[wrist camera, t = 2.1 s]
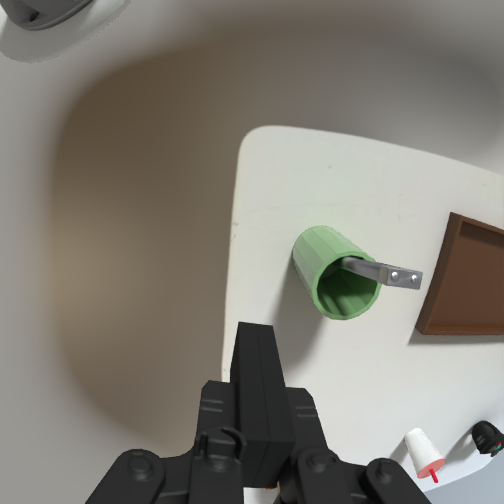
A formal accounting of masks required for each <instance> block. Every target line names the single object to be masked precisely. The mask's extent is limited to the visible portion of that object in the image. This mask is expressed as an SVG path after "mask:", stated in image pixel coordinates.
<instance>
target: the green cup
mask: <svg viewBox="0 0 504 504" xmlns="http://www.w3.org/2000/svg"><path fill="white" fill-rule="evenodd" d="M345 256H352V257H356V258H361V259H365V260H370V261H374V262H376V261H375V260H374V259H373V258H372V257H371V256H369V255H368V254H367V253H365V252H364V251H363V250H362V249H360V248H359V247H358V246H356V245H355V244H354V243H352V242H351V241H350V240H348V239H347V238H346V237H344V236H343V235H342V234H340V233H339V232H337V231H336V230H334V229H333V228H330V227H327V226H316V227H312V228H310V229H308V230H306V231H305V232H303V233H302V234H301V235H300V236H299V238H298V239H297V241H296V242H295V245H294V247H293V253H292V257H293V262H294V265H295V268H296V270H297V272H298V274H299V276H300V278H301V280H302V282H303V283H304V285H305V287H306V289H307V291H308V293H309V295H310V297H311V299H312V301H313V303H314V304H315V306H316V307H317V309H318V310H319V311H320V313H321V314H323V315H325V316H327V317H329V318H330V319H335V320H348V319H351V318H355V317H358V316H360V315H361V314H362V313H364V312H365V311H367V310H368V309H369V308H370V307H371V306H372V304H373V303H374V302H375V300H376V299H377V297H378V295H379V292H380V288H381V285H382V284H381V283H379V282H378V281H376V280H373V279H370V278H367V277H364V276H361V275H359V274H356V273H353V272H350V271H347V270H344V269H341V268H338V267H336V266H333V265H330V264H331V263H332V262H334V261H335V260H336V259H338V258H341V257H345Z"/></svg>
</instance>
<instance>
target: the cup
mask: <svg viewBox="0 0 504 504" xmlns="http://www.w3.org/2000/svg"><path fill="white" fill-rule="evenodd" d="M404 439H405V442H406V445H407V448H408V451H409V453H410V456H411V459H412V462H413V464H414V467H415V470H416V473H417V478H425V477H428V476H430V475H432V478H433V480H434V482H435V483H438V479H437V477H436V475H435V472H436V471H438V470H439V469H440V468H441V467H442V466H443V465H444V464H445V461H446V460H445V459H444V458H443V457H442V456H441V454H440V453H439V452H438V451H437V449H436V448H435V447H434V445H433V444H432V443H431V442H430V440H429V439H428V438H427V436H426V435H425V434H424V433H423V431H422V430H421V429H420V428H416V429H413V430H411V431H410V432H408V433H407V434H406V435H405V437H404Z"/></svg>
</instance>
